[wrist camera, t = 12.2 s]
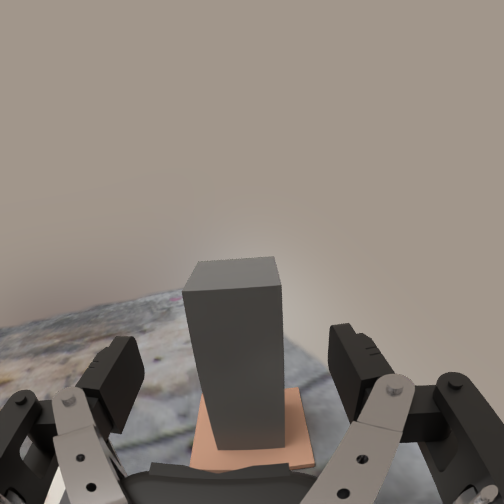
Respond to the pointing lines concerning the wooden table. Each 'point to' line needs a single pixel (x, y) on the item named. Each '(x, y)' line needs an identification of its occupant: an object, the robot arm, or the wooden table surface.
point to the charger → (239, 349)
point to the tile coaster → (229, 460)
